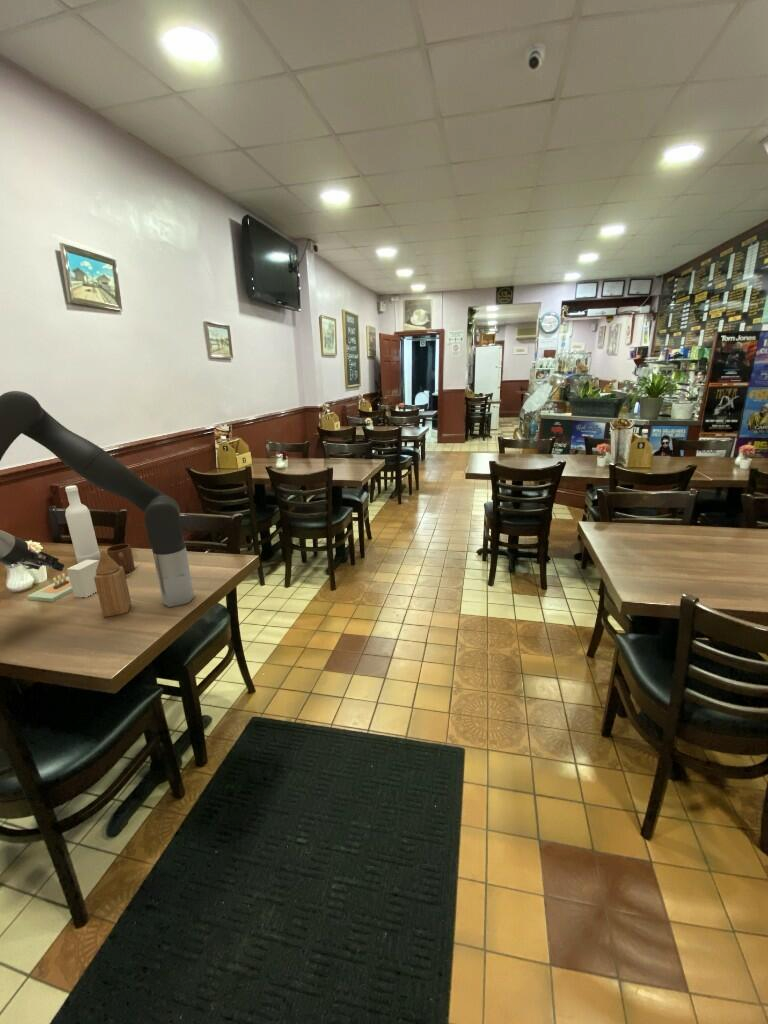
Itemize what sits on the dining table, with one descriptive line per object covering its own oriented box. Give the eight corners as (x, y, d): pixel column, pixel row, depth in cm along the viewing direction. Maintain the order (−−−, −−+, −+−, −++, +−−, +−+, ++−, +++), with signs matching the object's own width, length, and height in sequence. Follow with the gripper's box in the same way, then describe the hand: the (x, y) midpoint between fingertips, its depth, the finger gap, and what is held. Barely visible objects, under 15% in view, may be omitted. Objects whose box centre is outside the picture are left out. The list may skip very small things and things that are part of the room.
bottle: (104, 558, 172) (87, 485, 163) (83, 565, 166) (64, 490, 157) (94, 554, 176) (77, 483, 167) (73, 561, 170) (54, 487, 161)
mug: (138, 575, 156) (133, 551, 153) (114, 581, 152) (108, 556, 149) (133, 564, 165) (128, 542, 162) (110, 570, 161) (105, 546, 158)
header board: (71, 577, 155) (67, 565, 154) (94, 579, 153) (91, 566, 152) (27, 599, 141) (23, 585, 139) (52, 601, 139) (48, 587, 137)
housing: (93, 586, 149) (86, 559, 146) (105, 587, 148) (98, 560, 145) (74, 596, 141) (66, 568, 138) (86, 597, 140) (79, 569, 138)
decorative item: (108, 607, 134) (93, 547, 128) (132, 603, 136) (118, 544, 130) (103, 618, 128) (87, 555, 122) (128, 613, 130) (114, 552, 124)
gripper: (28, 534, 117) (75, 557, 131) (-13, 532, 120) (37, 554, 134) (14, 560, 113) (64, 580, 128) (-28, 557, 116) (25, 577, 130)
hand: (50, 567), depth 131 cm, fingers open, 8 cm apart
